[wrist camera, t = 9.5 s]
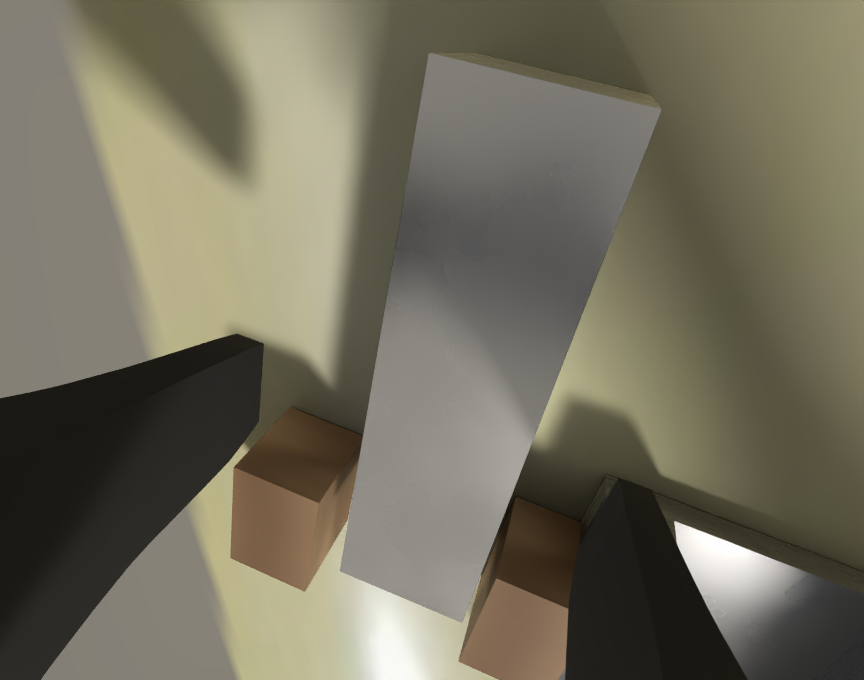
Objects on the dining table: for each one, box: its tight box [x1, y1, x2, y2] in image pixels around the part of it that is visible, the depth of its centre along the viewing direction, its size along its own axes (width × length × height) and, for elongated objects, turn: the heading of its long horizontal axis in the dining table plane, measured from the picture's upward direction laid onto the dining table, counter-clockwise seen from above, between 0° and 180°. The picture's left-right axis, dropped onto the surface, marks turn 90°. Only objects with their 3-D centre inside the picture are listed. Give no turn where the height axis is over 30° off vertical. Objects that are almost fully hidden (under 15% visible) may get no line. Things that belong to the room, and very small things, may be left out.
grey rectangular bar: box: [340, 53, 662, 622], centre depth 13 cm, size 4×13×4 cm, turn 168°
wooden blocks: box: [231, 407, 581, 680], centre depth 16 cm, size 10×4×3 cm, turn 77°
